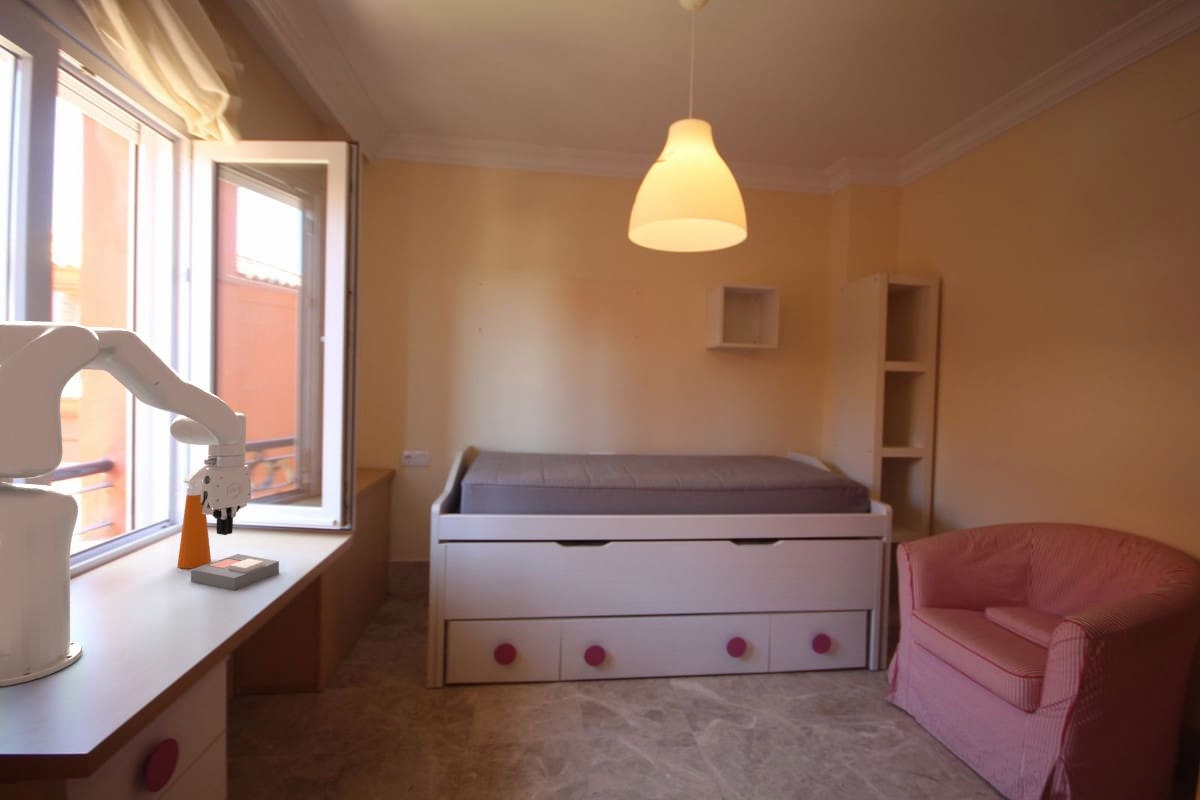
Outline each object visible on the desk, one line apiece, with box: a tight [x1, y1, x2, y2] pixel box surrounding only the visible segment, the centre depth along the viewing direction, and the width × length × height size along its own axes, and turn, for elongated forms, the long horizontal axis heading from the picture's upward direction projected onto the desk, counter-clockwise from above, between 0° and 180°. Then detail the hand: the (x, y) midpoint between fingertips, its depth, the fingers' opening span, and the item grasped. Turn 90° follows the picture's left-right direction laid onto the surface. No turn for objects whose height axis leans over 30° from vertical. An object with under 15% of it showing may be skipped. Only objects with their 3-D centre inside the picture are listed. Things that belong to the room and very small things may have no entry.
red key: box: [209, 559, 240, 569], centre depth 130 cm, size 5×5×2 cm
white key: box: [230, 559, 264, 573], centre depth 128 cm, size 5×5×2 cm
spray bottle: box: [177, 463, 212, 570], centre depth 138 cm, size 7×11×26 cm, turn 2°
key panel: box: [190, 553, 280, 591], centre depth 129 cm, size 12×14×3 cm
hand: (224, 533), depth 130 cm, fingers closed
